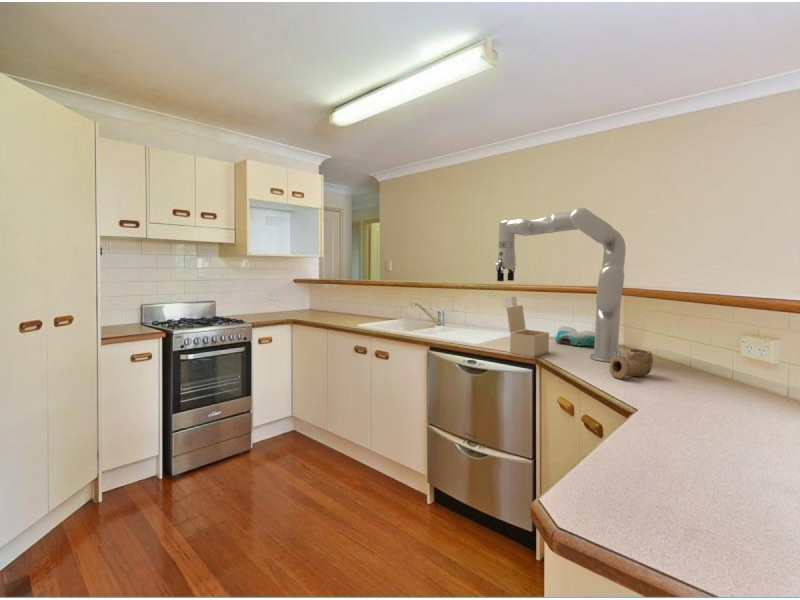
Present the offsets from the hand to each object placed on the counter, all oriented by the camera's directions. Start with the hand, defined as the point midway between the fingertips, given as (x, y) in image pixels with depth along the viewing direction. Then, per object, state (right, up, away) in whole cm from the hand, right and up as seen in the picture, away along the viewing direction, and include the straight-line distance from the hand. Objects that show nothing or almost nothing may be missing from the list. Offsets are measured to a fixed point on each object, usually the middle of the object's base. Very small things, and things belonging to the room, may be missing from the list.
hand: (505, 280), depth 202 cm
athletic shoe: (+42, -34, +12) cm, 55 cm away
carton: (+10, -35, -7) cm, 37 cm away
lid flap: (+4, -16, -3) cm, 17 cm away
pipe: (+36, -39, -47) cm, 70 cm away
